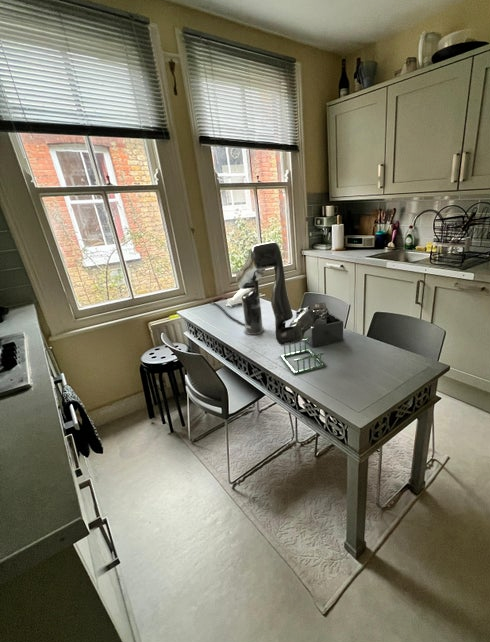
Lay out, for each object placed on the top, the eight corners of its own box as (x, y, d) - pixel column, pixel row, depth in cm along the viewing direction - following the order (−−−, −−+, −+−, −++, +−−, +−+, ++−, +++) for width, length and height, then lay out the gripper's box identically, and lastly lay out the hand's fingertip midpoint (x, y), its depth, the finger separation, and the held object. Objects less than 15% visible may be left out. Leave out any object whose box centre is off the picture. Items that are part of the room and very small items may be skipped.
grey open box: (299, 334, 163) (298, 316, 159) (327, 328, 169) (327, 311, 165) (312, 347, 149) (311, 327, 145) (343, 340, 155) (343, 321, 151)
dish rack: (280, 357, 142) (279, 344, 139) (309, 350, 146) (308, 338, 144) (294, 374, 128) (293, 360, 125) (325, 366, 132) (325, 353, 130)
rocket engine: (222, 294, 205) (245, 282, 213) (220, 301, 215) (242, 290, 223) (232, 308, 204) (254, 296, 212) (229, 315, 214) (251, 303, 222)
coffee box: (313, 332, 163) (312, 302, 156) (325, 331, 163) (325, 302, 156) (314, 339, 154) (313, 308, 148) (327, 339, 154) (326, 308, 148)
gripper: (320, 314, 132) (332, 302, 145) (289, 311, 137) (303, 299, 151) (320, 330, 135) (332, 317, 148) (290, 326, 140) (304, 314, 154)
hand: (317, 308), depth 150 cm, fingers open, 8 cm apart
